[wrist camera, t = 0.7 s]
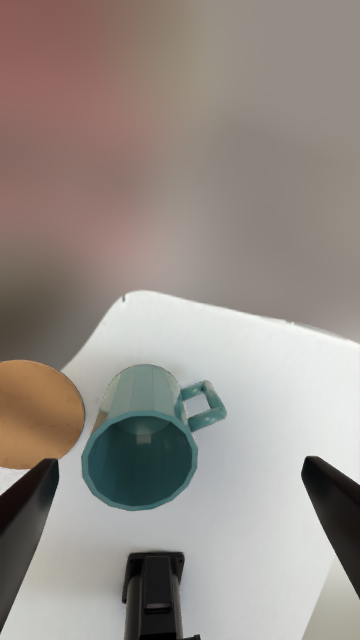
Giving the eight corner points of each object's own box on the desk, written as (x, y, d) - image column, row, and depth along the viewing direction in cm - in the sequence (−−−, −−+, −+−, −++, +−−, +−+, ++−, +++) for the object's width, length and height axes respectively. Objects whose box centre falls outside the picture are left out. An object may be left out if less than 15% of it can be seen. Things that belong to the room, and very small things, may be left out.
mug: (123, 445, 24) (111, 527, 16) (91, 382, 22) (60, 439, 14) (217, 405, 24) (250, 466, 17) (193, 341, 23) (216, 375, 15)
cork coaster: (79, 467, 24) (78, 471, 23) (-42, 463, 22) (-46, 467, 22) (90, 366, 22) (88, 368, 21) (-42, 352, 20) (-46, 354, 20)
